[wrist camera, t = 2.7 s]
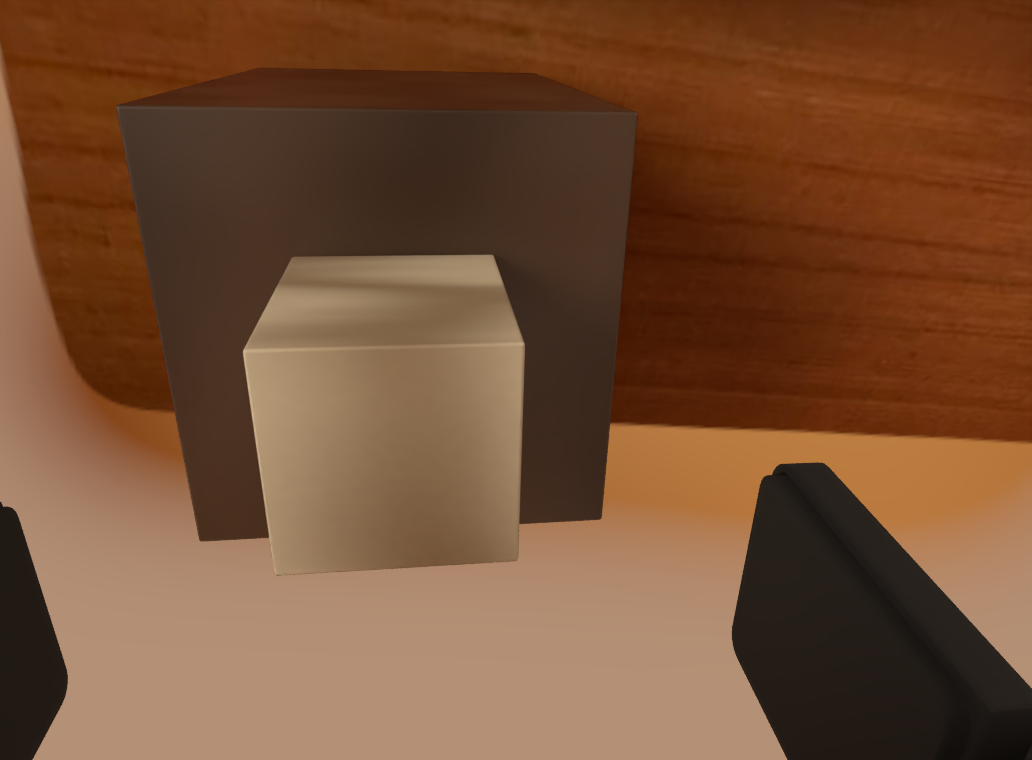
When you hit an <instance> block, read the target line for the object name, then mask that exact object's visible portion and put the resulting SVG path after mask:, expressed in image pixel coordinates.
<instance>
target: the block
mask: <svg viewBox="0 0 1032 760" xmlns="http://www.w3.org/2000/svg"><path fill="white" fill-rule="evenodd" d="M243 357H244V364H245V371H246V378H247V385H248V392H249V399H250V406H251V413H252V420H253V427H254V434H255V441H256V448H257V455H258V462H259V469H260V476H261V483H262V490H263V497H264V504H265V511H266V518H267V525H268V532H269V538H270V545H271V553H272V560H273V567H274V573H275V574H276V575H277V576H278V575H295V574H311V573H328V572H345V571H360V570H377V569H394V568H410V567H427V566H443V565H458V564H459V565H460V564H476V563H493V562H509V561H516V560H517V559H518V545H519V516H520V485H521V455H522V424H523V393H524V362H525V344H524V341H523V338H522V335H521V332H520V329H519V327H518V324H517V321H516V318H515V315H514V312H513V309H512V307H511V304H510V301H509V298H508V295H507V292H506V290H505V287H504V284H503V281H502V278H501V275H500V273H499V270H498V267H497V264H496V261H495V258H494V256H493V255H412V256H311V257H292V259H291V261H290V262H289V264H288V266H287V268H286V270H285V272H284V274H283V276H282V278H281V280H280V281H279V283H278V285H277V287H276V289H275V291H274V293H273V295H272V297H271V299H270V300H269V302H268V304H267V306H266V308H265V310H264V312H263V314H262V316H261V318H260V319H259V321H258V323H257V325H256V327H255V329H254V331H253V333H252V335H251V337H250V338H249V340H248V342H247V344H246V346H245V348H244V350H243Z"/></svg>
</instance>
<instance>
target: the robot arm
mask: <svg viewBox="0 0 1032 760" xmlns="http://www.w3.org/2000/svg"><path fill="white" fill-rule="evenodd" d="M732 641H733V647H734V651H735V654H736V656H737V658H738V661H739V663H740V665H741V667H742V669H743V671H744V673H745V675H746V677H747V679H748V681H749V683H750V685H751V687H752V689H753V691H754V693H755V695H756V697H757V699H758V701H759V703H760V705H761V707H762V709H763V711H764V713H765V715H766V717H767V719H768V721H769V723H770V725H771V727H772V729H773V731H774V733H775V735H776V737H777V739H778V741H779V743H780V745H781V747H782V749H783V752H784V753H785V756H786V757H787V760H1032V688H1030V686H1029V685H1028V684H1027V683H1026V682H1025V681H1024V680H1023V679H1022V678H1021V676H1020V675H1019V674H1018V673H1017V672H1016V671H1015V670H1014V669H1013V668H1012V667H1011V666H1010V664H1009V663H1008V662H1007V661H1006V660H1005V659H1004V658H1003V657H1002V656H1001V655H1000V653H999V652H998V651H997V650H996V649H995V648H994V647H993V646H992V645H991V644H990V643H989V642H988V640H987V639H986V638H985V637H984V636H983V635H982V634H981V633H980V632H979V631H978V630H977V628H976V627H975V626H974V625H973V624H972V623H971V622H970V621H969V620H968V619H967V618H966V616H965V615H964V614H963V613H962V612H961V611H960V610H959V609H958V608H957V607H956V605H955V604H954V603H953V602H952V601H951V600H950V599H949V598H948V597H947V596H946V595H945V593H944V592H943V591H942V590H941V589H940V588H939V587H938V586H937V585H936V584H935V583H934V582H933V580H932V579H930V577H929V576H928V575H927V574H926V573H925V572H924V571H923V570H922V568H921V567H920V566H919V565H918V564H917V563H916V562H915V561H914V560H913V559H912V557H910V555H909V554H908V553H907V552H906V551H905V550H904V549H903V548H902V547H901V545H900V544H899V543H898V542H897V541H896V540H895V539H894V538H893V537H892V536H891V535H890V534H889V532H888V531H887V530H886V529H885V528H884V527H883V526H882V525H881V524H880V523H879V522H878V521H877V519H876V518H875V517H874V516H873V515H872V514H871V513H870V512H869V511H868V509H867V508H866V507H865V506H864V505H863V504H862V503H861V502H860V501H859V500H858V499H857V497H855V495H854V494H853V493H852V492H851V491H850V490H849V489H848V488H847V487H846V486H845V484H844V483H843V482H842V481H841V480H840V479H839V478H838V477H837V476H836V475H835V473H834V472H833V471H832V470H831V469H830V468H829V467H828V466H826V465H825V464H824V463H795V464H780V465H778V466H777V467H776V468H775V470H774V471H773V474H772V475H767V476H765V477H764V478H763V480H762V481H761V484H760V488H759V493H758V499H757V504H756V509H755V514H754V519H753V524H752V529H751V534H750V540H749V544H748V550H747V555H746V560H745V565H744V570H743V575H742V580H741V585H740V591H739V595H738V600H737V606H736V611H735V616H734V621H733V626H732ZM67 684H68V675H67V669H66V666H65V663H64V660H63V657H62V653H61V650H60V647H59V644H58V641H57V638H56V634H55V631H54V628H53V625H52V622H51V619H50V615H49V612H48V609H47V606H46V603H45V600H44V597H43V593H42V590H41V587H40V584H39V581H38V577H37V574H36V571H35V568H34V565H33V562H32V559H31V555H30V552H29V549H28V546H27V543H26V539H25V536H24V533H23V530H22V527H21V524H20V521H19V518H18V515H17V513H16V511H15V510H13V508H10V507H3V505H2V503H1V502H0V760H32V759H33V758H34V755H35V754H36V752H37V750H38V748H39V746H40V744H41V742H42V741H43V739H44V737H45V735H46V733H47V731H48V729H49V727H50V725H51V724H52V722H53V720H54V718H55V716H56V714H57V713H58V711H59V709H60V707H61V705H62V703H63V700H64V698H65V694H66V691H67Z"/></svg>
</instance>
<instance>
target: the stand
mask: <svg viewBox="0 0 1032 760" xmlns="http://www.w3.org/2000/svg"><path fill="white" fill-rule="evenodd" d="M116 109H117V114H118V119H119V125H120V130H121V135H122V140H123V145H124V151H125V156H126V161H127V166H128V171H129V177H130V182H131V187H132V192H133V197H134V203H135V208H136V213H137V218H138V223H139V229H140V234H141V239H142V244H143V249H144V255H145V260H146V265H147V270H148V275H149V281H150V286H151V291H152V296H153V301H154V307H155V312H156V317H157V322H158V327H159V333H160V338H161V343H162V348H163V353H164V359H165V364H166V369H167V374H168V379H169V385H170V390H171V395H172V400H173V405H174V411H175V415H176V421H177V426H178V431H179V436H180V442H181V447H182V452H183V457H184V463H185V468H186V473H187V478H188V483H189V489H190V493H191V499H192V504H193V509H194V515H195V519H196V525H197V530H198V535H199V540H200V541H218V540H237V539H255V538H269V532H268V525H267V518H266V511H265V504H264V497H263V490H262V483H261V476H260V469H259V462H258V455H257V448H256V441H255V434H254V427H253V420H252V413H251V406H250V399H249V392H248V385H247V378H246V371H245V364H244V357H243V350H244V348H245V346H246V344H247V342H248V340H249V338H250V337H251V335H252V333H253V331H254V329H255V327H256V325H257V323H258V321H259V319H260V318H261V316H262V314H263V312H264V310H265V308H266V306H267V304H268V302H269V300H270V299H271V297H272V295H273V293H274V291H275V289H276V287H277V285H278V283H279V281H280V280H281V278H282V276H283V274H284V272H285V270H286V268H287V266H288V264H289V262H290V261H291V259H292V257H311V256H412V255H493V256H494V258H495V261H496V264H497V267H498V270H499V273H500V275H501V278H502V281H503V284H504V287H505V290H506V292H507V295H508V298H509V301H510V304H511V307H512V309H513V312H514V315H515V318H516V321H517V324H518V327H519V329H520V332H521V335H522V338H523V341H524V344H525V362H524V393H523V424H522V455H521V485H520V516H519V524H529V523H547V522H566V521H583V520H600V519H601V517H602V507H603V496H604V484H605V474H606V463H607V452H608V440H609V429H610V418H611V407H612V396H613V385H614V373H615V362H616V351H617V340H618V329H619V318H620V306H621V295H622V284H623V273H624V262H625V250H626V239H627V228H628V217H629V206H630V195H631V183H632V172H633V161H634V150H635V139H636V127H637V116H638V115H637V113H636V112H634V111H631V110H629V109H626V108H623V107H621V106H618V105H616V104H613V103H610V102H608V101H605V100H602V99H600V98H597V97H595V96H592V95H589V94H587V93H584V92H582V91H579V90H576V89H574V88H571V87H568V86H566V85H563V84H561V83H558V82H555V81H553V80H550V79H548V78H545V77H542V76H540V75H537V74H533V73H484V72H435V71H385V70H336V69H287V68H256V69H252V70H249V71H245V72H241V73H237V74H233V75H230V76H226V77H222V78H218V79H214V80H211V81H207V82H203V83H199V84H195V85H192V86H188V87H184V88H180V89H176V90H173V91H169V92H165V93H161V94H157V95H154V96H150V97H146V98H142V99H138V100H135V101H131V102H127V103H123V104H119V105H117V108H116Z"/></svg>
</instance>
